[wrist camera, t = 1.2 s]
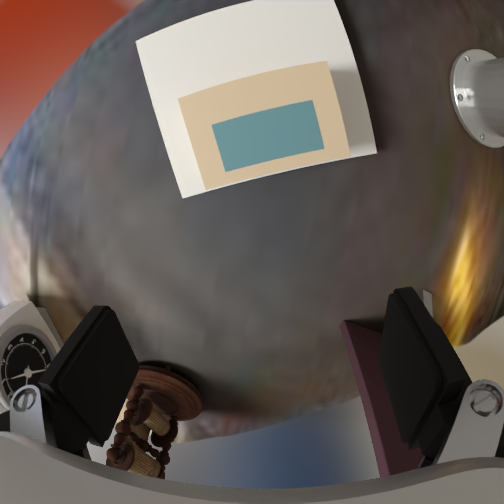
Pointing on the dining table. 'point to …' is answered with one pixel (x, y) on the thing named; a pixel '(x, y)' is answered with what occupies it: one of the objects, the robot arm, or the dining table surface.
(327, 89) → the carton
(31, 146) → the dining table surface
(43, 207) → the dining table surface
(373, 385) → the picture frame
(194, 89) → the display podium
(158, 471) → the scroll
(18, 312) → the alarm clock
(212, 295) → the dining table surface
